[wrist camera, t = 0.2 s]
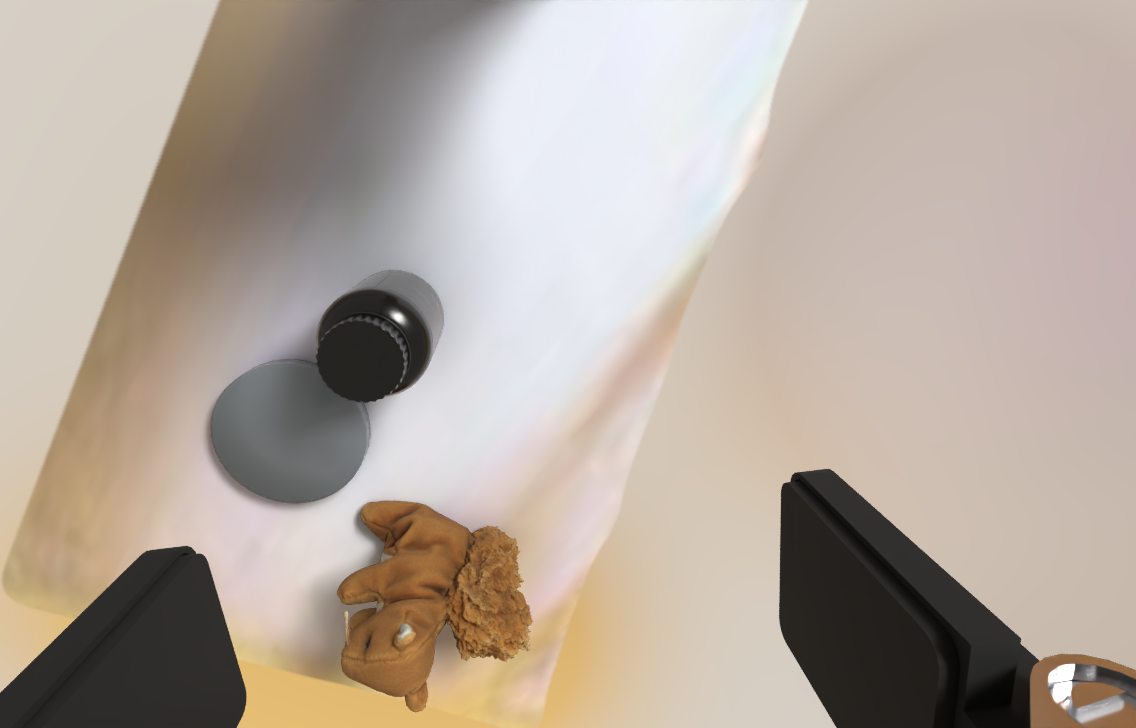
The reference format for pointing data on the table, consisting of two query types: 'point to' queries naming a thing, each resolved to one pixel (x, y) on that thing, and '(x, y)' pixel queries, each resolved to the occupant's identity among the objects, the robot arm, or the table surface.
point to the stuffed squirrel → (430, 599)
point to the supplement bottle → (379, 336)
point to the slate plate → (289, 432)
